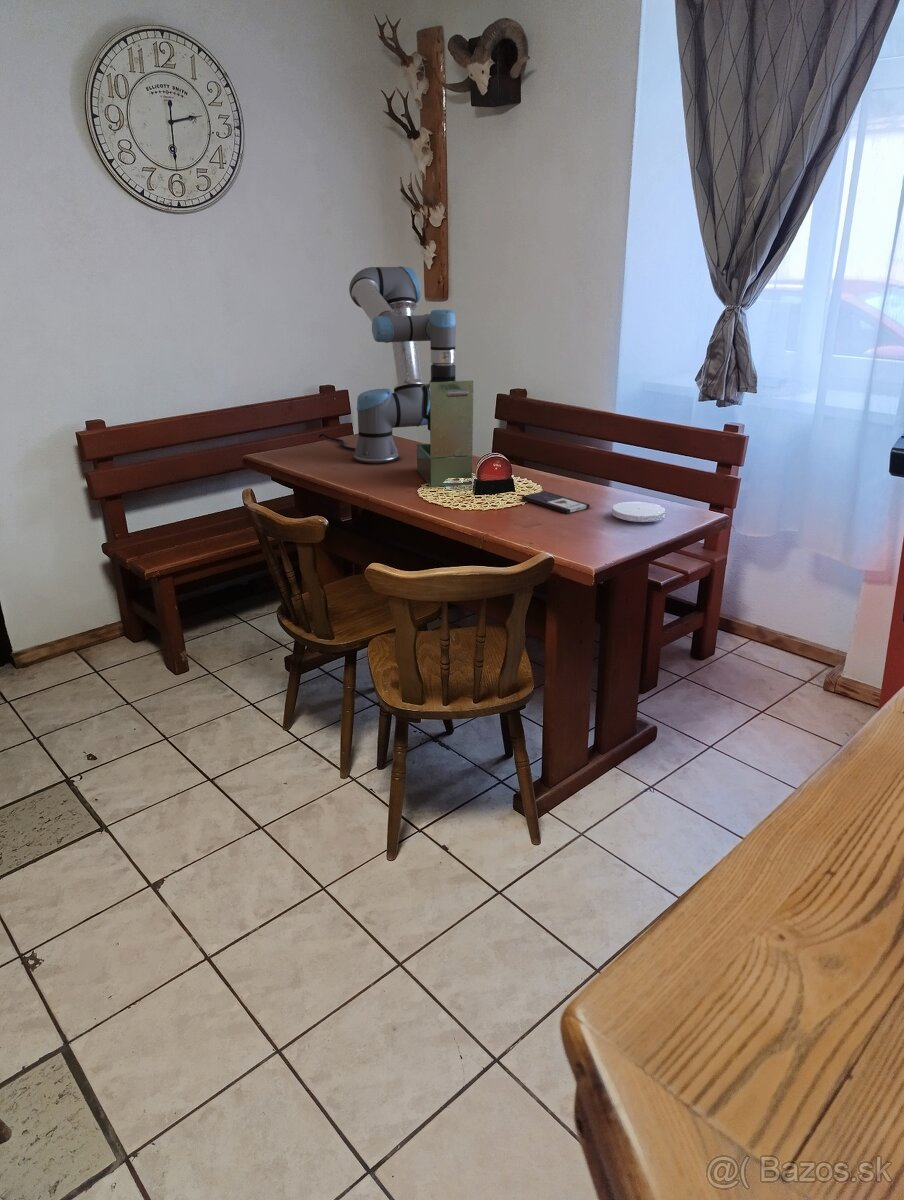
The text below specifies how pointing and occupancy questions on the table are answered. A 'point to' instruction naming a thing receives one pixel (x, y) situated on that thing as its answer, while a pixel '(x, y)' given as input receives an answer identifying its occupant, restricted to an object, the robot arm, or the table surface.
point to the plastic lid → (638, 511)
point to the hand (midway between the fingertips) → (443, 440)
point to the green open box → (442, 467)
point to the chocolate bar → (555, 502)
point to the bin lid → (451, 418)
